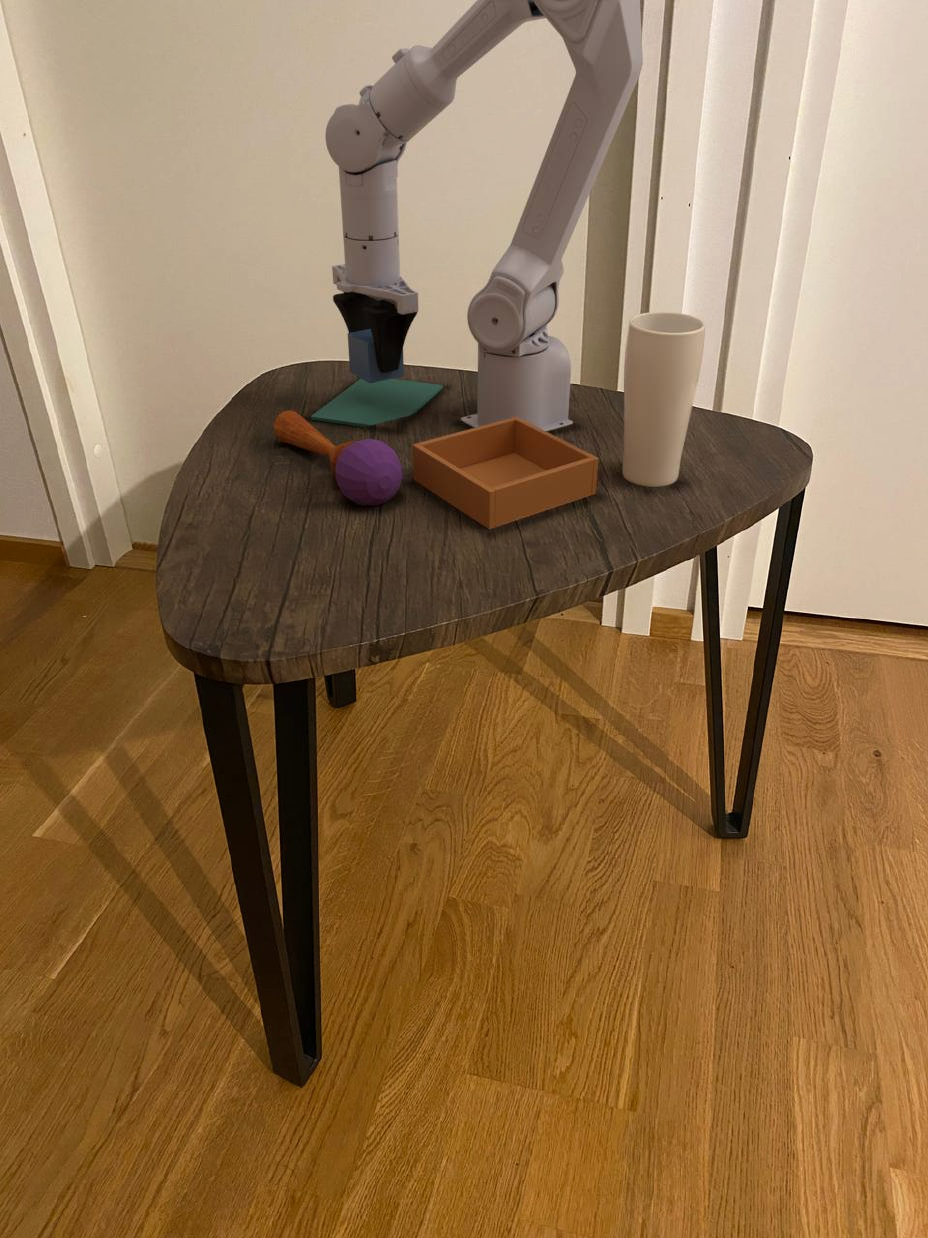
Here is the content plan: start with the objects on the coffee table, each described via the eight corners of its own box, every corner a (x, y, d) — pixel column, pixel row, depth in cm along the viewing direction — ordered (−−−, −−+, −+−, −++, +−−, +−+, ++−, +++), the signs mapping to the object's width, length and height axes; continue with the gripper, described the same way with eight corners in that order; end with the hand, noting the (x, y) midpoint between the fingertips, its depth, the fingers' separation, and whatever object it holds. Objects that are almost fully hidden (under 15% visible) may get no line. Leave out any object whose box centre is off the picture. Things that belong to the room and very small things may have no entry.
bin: (515, 453, 99) (516, 416, 97) (595, 497, 90) (598, 457, 88) (413, 483, 93) (412, 444, 91) (489, 533, 85) (489, 491, 82)
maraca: (316, 397, 101) (417, 447, 86) (313, 453, 103) (411, 511, 89) (262, 397, 98) (357, 450, 83) (260, 456, 100) (353, 517, 85)
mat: (365, 378, 117) (365, 374, 117) (443, 388, 115) (443, 384, 114) (310, 419, 106) (310, 416, 106) (395, 431, 104) (395, 428, 103)
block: (383, 364, 111) (382, 326, 109) (404, 375, 108) (402, 336, 106) (349, 372, 109) (347, 332, 107) (369, 383, 106) (367, 343, 104)
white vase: (700, 484, 93) (723, 326, 85) (644, 500, 90) (663, 338, 82) (653, 459, 98) (671, 307, 90) (599, 473, 95) (612, 318, 87)
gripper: (303, 226, 104) (314, 353, 111) (373, 253, 94) (379, 390, 101) (361, 218, 107) (368, 342, 115) (434, 244, 97) (436, 377, 105)
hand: (377, 364), depth 108 cm, fingers closed on block, 4 cm apart
